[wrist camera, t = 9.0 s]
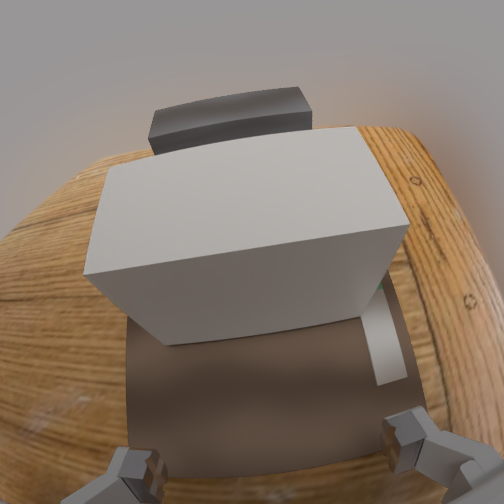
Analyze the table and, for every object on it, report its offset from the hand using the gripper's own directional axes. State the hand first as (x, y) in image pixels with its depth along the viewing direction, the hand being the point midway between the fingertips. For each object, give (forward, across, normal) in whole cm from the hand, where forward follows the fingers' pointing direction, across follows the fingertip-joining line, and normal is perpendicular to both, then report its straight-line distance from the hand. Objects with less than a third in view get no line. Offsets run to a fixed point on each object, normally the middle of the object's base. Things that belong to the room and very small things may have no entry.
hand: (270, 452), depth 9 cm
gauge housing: (+12, -1, -3) cm, 12 cm away
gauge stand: (+12, 0, -1) cm, 12 cm away
